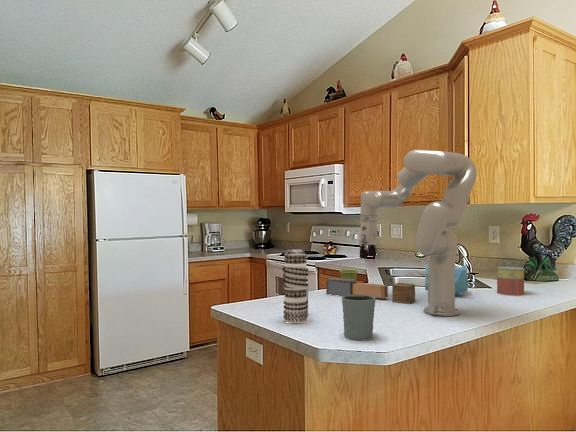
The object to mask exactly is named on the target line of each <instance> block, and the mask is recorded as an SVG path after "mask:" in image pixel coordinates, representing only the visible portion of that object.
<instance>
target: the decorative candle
mask: <svg viewBox="0 0 576 432" xmlns="http://www.w3.org/2000/svg"><path fill="white" fill-rule="evenodd" d="M283 255H284V262H283V264H284V265H283V268H282V272H283V273H282V277H283V279H282V281H283V282H284V283H283V285H282V286H283V289H284V297H283V298H284V301H283V304H284V305H283V309H284V310H283V316H282V317H283V322H284V321H285V322H288V323H304V324H306V323H308V322H307V321H308V318H309V316H308V315H309V310H308V311H307V310H306V308H308V309H309V300H308V301H307V296H306V289H307V286H308V287H309V283H308V281H309V279H308V278H307V277H308V276H309V273H308V271H309V268H307V255H308V254H307V253H306V252H305V250H303V249H299V248H298V249H297V248H296V249H295V248H294V249H288V250H286V251H285V253H284V254H283ZM306 282H307V283H308V284H307V283H306ZM306 304H308V306H307V305H306ZM307 313H308V315H307ZM285 322H284V323H285ZM305 322H306V323H305ZM288 323H287V324H288Z"/></svg>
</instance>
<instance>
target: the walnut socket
mask: <svg viewBox="0 0 576 432" xmlns="http://www.w3.org/2000/svg"><path fill="white" fill-rule="evenodd" d="M391 287H392V288H391V289H392V291H391V293H392V296H391V297H392V299H391V300H392V303H397V304H405V305H412V304H413V303H414V302H416V284H415V283H406V282H405V283H404V282H403V283H402V282H397V283H395V284H392V286H391Z"/></svg>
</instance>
